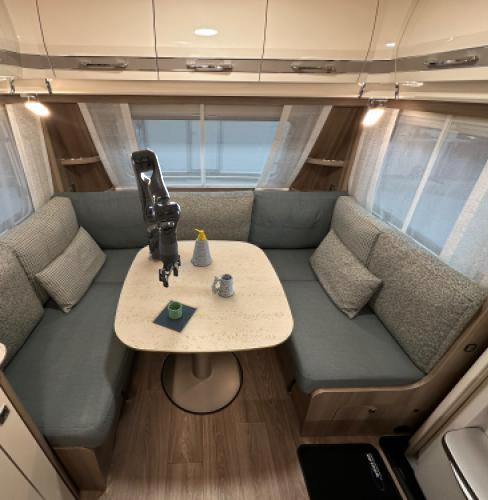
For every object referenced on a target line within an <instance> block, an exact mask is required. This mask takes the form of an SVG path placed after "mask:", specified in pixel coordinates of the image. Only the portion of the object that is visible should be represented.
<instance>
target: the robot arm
mask: <svg viewBox="0 0 488 500" xmlns="http://www.w3.org/2000/svg"><path fill="white" fill-rule="evenodd" d="M130 163H131V167H132V171H133V175H134V177H135V182H136V188H137V193H138V198H139V201H140V206H141V213H142V215H141V216H142V219H143V222H144V223H146V224H151V225H150V226H149V227H147V228H146V235H147V241H148V242H147V244H148V255H149V259H150V260H151V261H154V262H161V263H162V264H163V265H162V268H158V281H159V282H161V283H162V286H163V288H166V289H168V288H169V287H170V286H169V277H171V274H172V275H173V277H175V278H178V277H179V269H180V267H181V266H182V261H181V255H180V254H179V244H178V234H177V233H178V232H177V231H178V226H179V223H180V222H179V221H180V218H181V208H180V205H179V204H178V202H176V201H170V195H169V191H168V189H167V187H166V184H165V182H164V179H163V175H162V171H161V166H160V163H159V160H158V156H157V154H156V152H155V150H154V149H152V148H146V149H139V150H136V151H132V152H131V153H130ZM148 172H152V173H151V175H150V178H149V177H147V176H146V175H145V174H144V173H148ZM169 201H170V202H169ZM163 223H165V224H163ZM152 224H153V225H152Z"/></svg>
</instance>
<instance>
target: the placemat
mask: <svg viewBox="0 0 488 500" xmlns="http://www.w3.org/2000/svg"><path fill="white" fill-rule="evenodd" d="M171 302H174V300H170V301H169V303H168V304H166V306H165V307H164V308H162V309H163V310H162V311H161V312H160V313H159V314H158V315H157V316H156V317H155V319H153V321H152V323H154V324H156V325H158V326H159V325H160V326H162V327H165V328H168V329H171V330H173V331H176V332H179V333H181V332H182V330H183V329H184V328H185V326H186V325H187V323H189V321H190V320H191V317H192V316H193V315H194V313H195V311H196V310H197V308H196V307H193V306H190V305H186V304H185V303H181V305H182V316H181V317H180V318H178V319H172V318H170V317H169V314H168V305H169V304H170V303H171Z"/></svg>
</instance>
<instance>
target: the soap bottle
mask: <svg viewBox="0 0 488 500" xmlns="http://www.w3.org/2000/svg"><path fill="white" fill-rule="evenodd" d="M194 231H195V232H198V233H199V234H197V237H196V238H195V242H194V247H193V252H192V257H191V263H192V264H193V265H195V266H196V267H197V266H198V267H206V266H208V265H210V264H211V263H212V255H211V250H210V245H209V241H208V238H207V237H206V234H205V231H204V230H201V229H197V228H194Z"/></svg>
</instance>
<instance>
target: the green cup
mask: <svg viewBox="0 0 488 500" xmlns="http://www.w3.org/2000/svg"><path fill="white" fill-rule="evenodd" d="M173 301H174V300H173ZM168 304H169V303H168ZM168 304H167V305H168ZM181 304H182V302H179V301H176V300H175V301H174V302H171V303H170V304H169V305H168V314H169V317H170V318H172V319H178V318H180V317H181V316H182V305H181Z"/></svg>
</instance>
